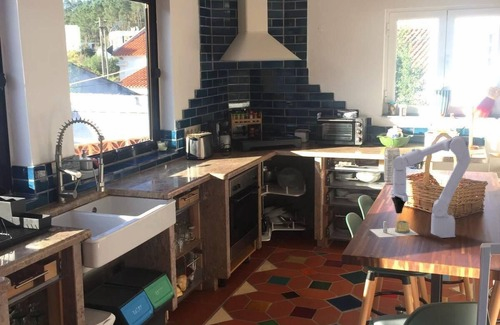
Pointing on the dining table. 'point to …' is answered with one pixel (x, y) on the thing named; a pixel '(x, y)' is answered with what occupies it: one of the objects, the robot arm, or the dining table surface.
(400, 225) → the brass collar
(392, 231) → the assembly board
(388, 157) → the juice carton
